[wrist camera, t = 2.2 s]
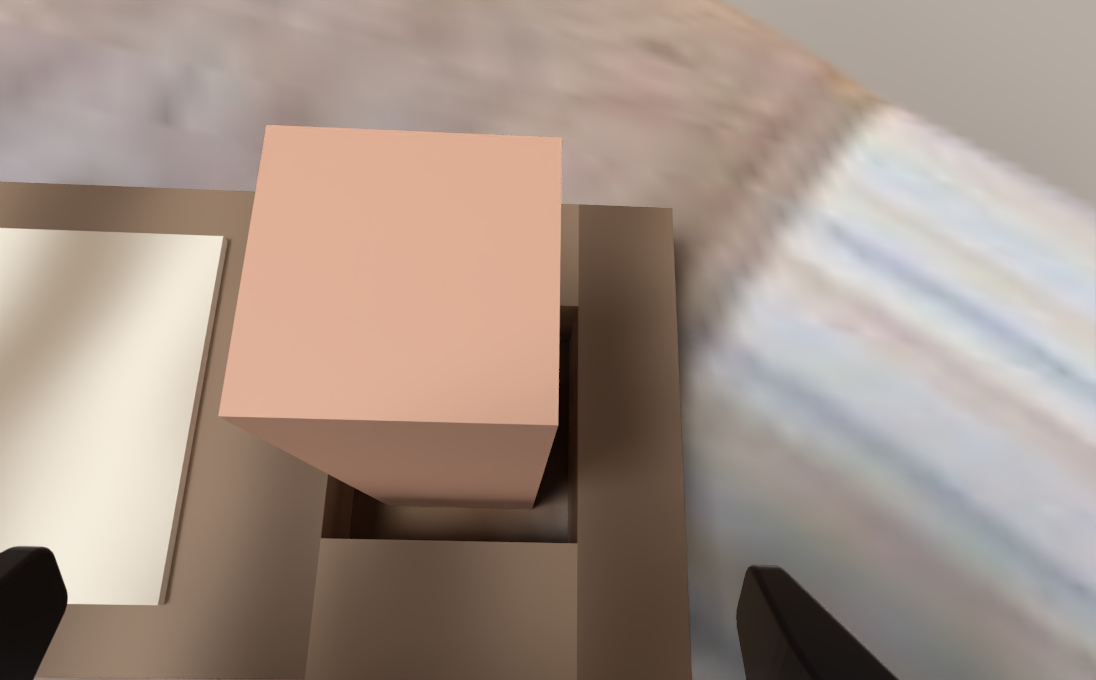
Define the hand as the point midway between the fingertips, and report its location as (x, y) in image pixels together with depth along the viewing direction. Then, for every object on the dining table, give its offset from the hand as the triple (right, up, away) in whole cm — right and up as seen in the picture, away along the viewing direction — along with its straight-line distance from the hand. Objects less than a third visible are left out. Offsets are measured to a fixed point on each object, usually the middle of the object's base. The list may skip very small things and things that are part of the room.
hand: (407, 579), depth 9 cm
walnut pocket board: (-6, 0, +11) cm, 12 cm away
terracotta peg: (-1, 0, +11) cm, 11 cm away
